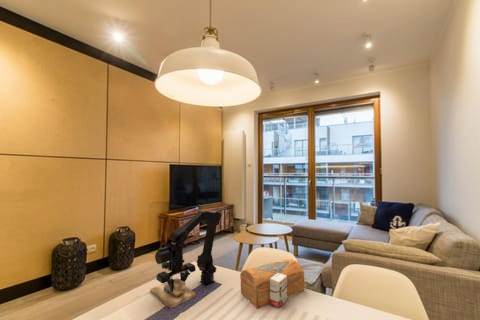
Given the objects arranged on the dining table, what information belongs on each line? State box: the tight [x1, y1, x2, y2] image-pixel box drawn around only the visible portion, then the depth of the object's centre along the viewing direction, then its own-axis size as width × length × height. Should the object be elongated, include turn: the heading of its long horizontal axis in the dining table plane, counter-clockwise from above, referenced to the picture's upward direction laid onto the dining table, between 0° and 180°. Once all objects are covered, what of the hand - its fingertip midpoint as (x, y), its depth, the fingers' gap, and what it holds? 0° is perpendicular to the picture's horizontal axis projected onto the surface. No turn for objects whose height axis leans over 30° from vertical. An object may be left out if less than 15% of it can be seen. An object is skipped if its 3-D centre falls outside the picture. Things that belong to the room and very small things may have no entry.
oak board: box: [150, 282, 197, 309], centre depth 117 cm, size 14×20×2 cm
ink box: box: [269, 273, 288, 309], centre depth 109 cm, size 9×5×12 cm, turn 142°
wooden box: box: [239, 258, 305, 309], centre depth 119 cm, size 30×16×14 cm, turn 119°
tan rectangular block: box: [169, 277, 187, 297], centre depth 115 cm, size 5×7×5 cm
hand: (176, 289), depth 115 cm, fingers closed on tan rectangular block, 5 cm apart
